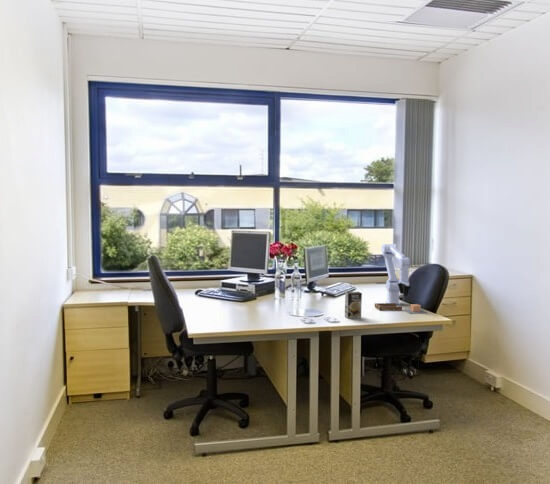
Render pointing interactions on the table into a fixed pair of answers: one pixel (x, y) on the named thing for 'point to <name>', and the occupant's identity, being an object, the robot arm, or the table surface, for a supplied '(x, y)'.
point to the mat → (413, 312)
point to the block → (415, 308)
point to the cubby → (387, 306)
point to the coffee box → (353, 304)
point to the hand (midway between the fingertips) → (403, 294)
